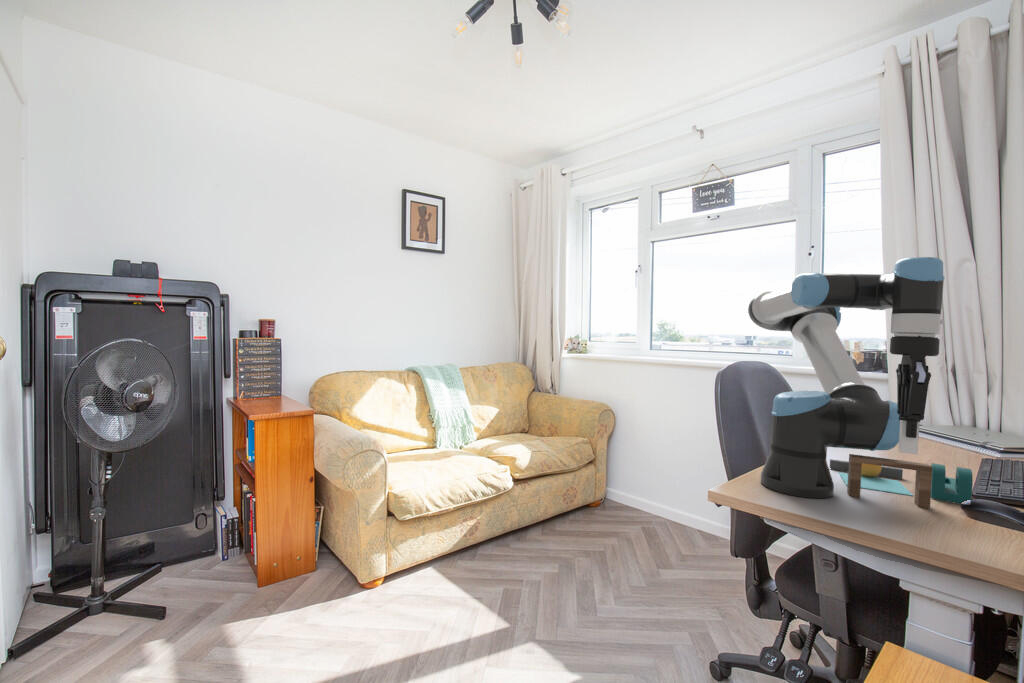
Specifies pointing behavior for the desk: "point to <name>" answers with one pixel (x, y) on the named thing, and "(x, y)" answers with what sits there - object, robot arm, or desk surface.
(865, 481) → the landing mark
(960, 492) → the bracket
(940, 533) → the desk surface
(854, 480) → the bridge
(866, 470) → the ball
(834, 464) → the wall
